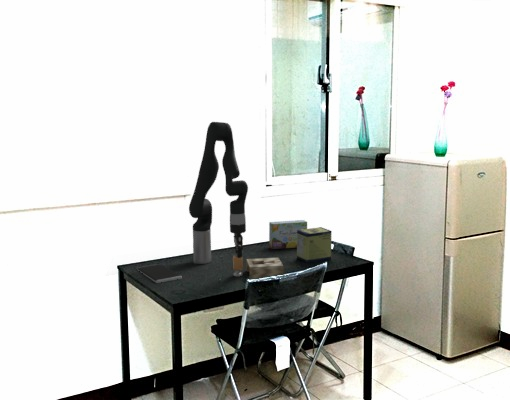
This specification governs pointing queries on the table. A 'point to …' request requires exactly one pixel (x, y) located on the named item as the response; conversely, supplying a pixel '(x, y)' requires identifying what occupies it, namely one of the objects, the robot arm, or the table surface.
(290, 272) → the table surface
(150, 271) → the smartphone
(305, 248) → the protein box
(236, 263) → the keyhole peg
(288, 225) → the snack box
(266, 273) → the shelf
